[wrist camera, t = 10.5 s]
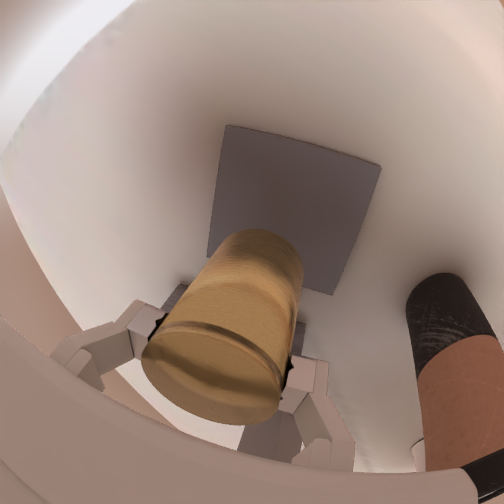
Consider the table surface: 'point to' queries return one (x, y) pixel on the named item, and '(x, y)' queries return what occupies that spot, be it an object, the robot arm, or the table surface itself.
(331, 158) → the mat
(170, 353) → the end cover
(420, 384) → the travel mug
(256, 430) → the grey square bottle
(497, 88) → the table surface
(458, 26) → the table surface
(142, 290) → the table surface
